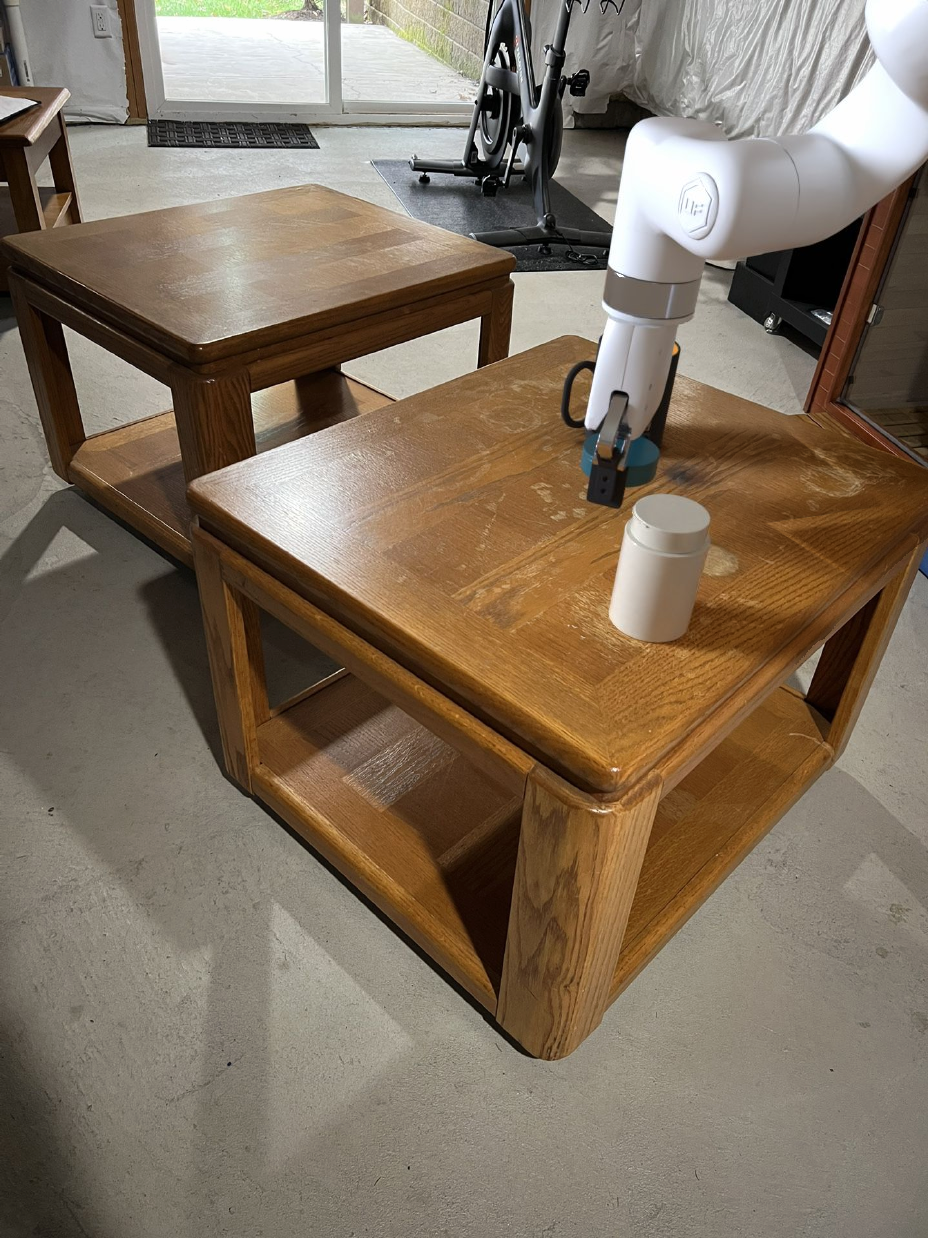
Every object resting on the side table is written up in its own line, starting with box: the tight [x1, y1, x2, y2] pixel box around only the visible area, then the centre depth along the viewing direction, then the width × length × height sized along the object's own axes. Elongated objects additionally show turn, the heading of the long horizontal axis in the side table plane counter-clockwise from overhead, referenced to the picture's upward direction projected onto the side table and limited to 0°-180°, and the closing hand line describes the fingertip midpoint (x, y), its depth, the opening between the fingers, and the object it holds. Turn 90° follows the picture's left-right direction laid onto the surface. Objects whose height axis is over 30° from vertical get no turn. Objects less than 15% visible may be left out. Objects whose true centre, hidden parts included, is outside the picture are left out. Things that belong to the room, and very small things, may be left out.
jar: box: [608, 493, 712, 644], centre depth 72 cm, size 6×6×10 cm
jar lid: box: [580, 432, 661, 489], centre depth 85 cm, size 7×7×2 cm
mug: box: [560, 333, 682, 449], centre depth 97 cm, size 8×12×10 cm
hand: (615, 483), depth 86 cm, fingers closed on jar lid, 6 cm apart
